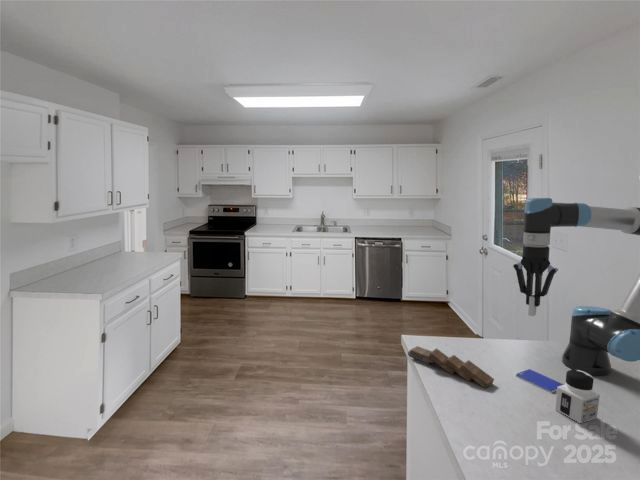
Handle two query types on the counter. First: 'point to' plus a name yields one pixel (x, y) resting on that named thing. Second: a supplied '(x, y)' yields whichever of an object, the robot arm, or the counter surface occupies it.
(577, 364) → the robot arm
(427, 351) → the domino
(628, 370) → the counter surface
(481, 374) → the domino
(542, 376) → the hard drive
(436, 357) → the domino
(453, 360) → the domino
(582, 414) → the container
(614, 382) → the counter surface
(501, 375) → the counter surface
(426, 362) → the end domino
